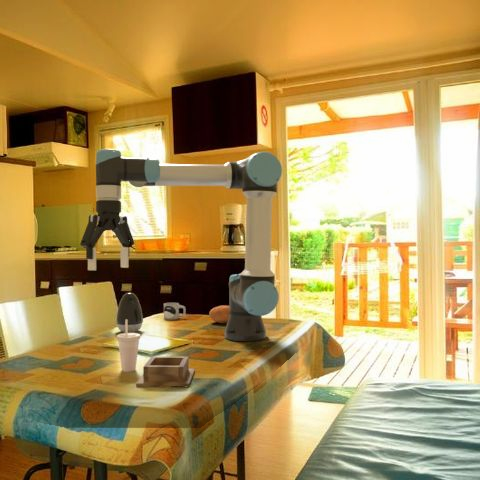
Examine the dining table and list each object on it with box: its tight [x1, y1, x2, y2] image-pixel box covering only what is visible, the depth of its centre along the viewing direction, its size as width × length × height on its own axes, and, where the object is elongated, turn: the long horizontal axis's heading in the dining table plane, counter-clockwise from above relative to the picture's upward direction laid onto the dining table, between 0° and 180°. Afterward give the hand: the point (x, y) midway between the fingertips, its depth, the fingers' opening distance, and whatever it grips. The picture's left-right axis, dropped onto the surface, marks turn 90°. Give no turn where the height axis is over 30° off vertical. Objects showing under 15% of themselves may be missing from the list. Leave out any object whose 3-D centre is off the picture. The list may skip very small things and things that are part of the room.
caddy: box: [135, 355, 196, 388], centre depth 122 cm, size 13×13×4 cm
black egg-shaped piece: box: [115, 292, 144, 333], centre depth 183 cm, size 10×10×15 cm
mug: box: [163, 302, 187, 321], centre depth 212 cm, size 10×7×7 cm, turn 81°
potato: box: [208, 305, 230, 324], centre depth 200 cm, size 9×11×8 cm
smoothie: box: [116, 319, 141, 373], centre depth 131 cm, size 6×6×14 cm
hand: (108, 268), depth 146 cm, fingers open, 13 cm apart
